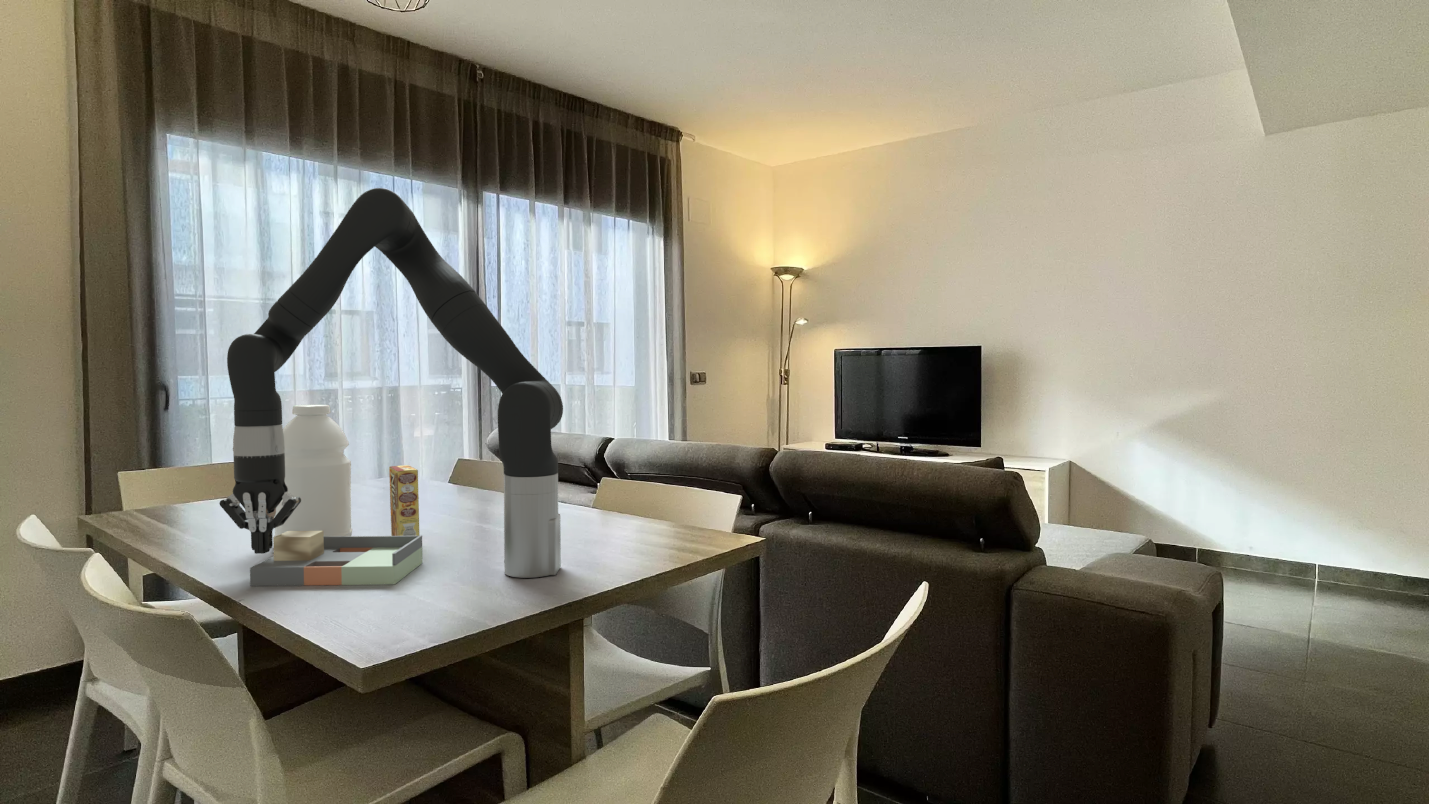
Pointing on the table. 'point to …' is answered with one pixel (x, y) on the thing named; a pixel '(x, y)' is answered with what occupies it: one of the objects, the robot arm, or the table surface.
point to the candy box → (404, 501)
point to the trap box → (346, 563)
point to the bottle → (317, 473)
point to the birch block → (298, 545)
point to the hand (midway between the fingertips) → (262, 552)
